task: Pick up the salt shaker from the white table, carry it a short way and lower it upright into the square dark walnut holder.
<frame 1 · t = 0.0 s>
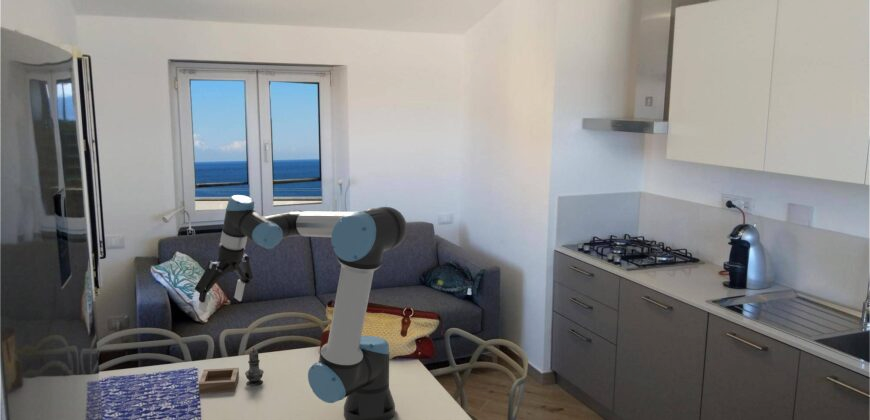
hand: (220, 304, 206), 28 cm above the table, tool tilted 20°, fingers open, 13 cm apart
walnut holder: (219, 385, 213), on the table
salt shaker: (254, 383, 215), on the table
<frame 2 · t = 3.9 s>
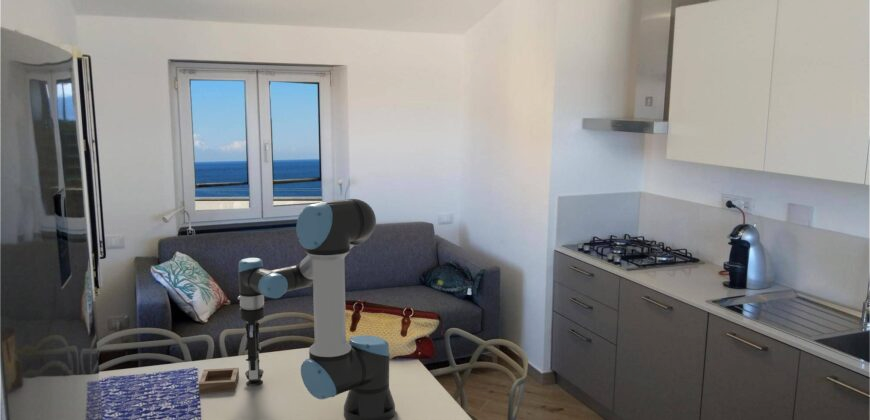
hand: (254, 374, 215), 3 cm above the table, tool pointing down, fingers closed on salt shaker, 6 cm apart
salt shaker: (254, 383, 215), on the table, touching gripper
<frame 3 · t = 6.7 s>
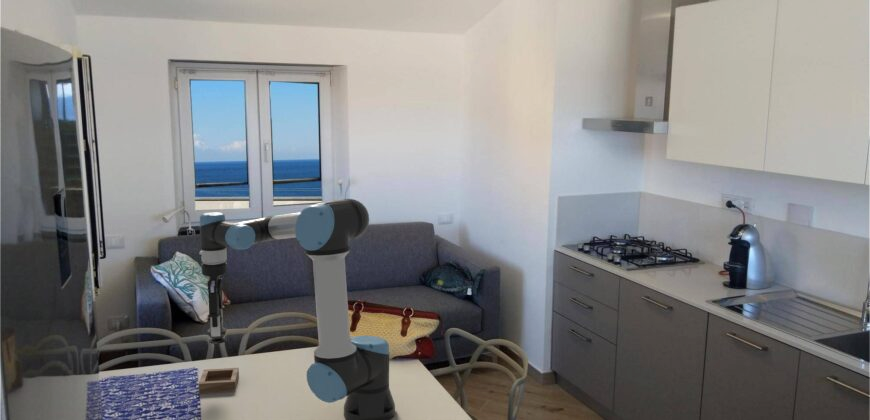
hand: (217, 332, 210), 18 cm above the table, tool pointing down, fingers closed on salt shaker, 6 cm apart
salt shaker: (217, 341, 211), point 15 cm above the table, touching gripper
when the fingers open (5 cm above the table, at t = 9.6 s): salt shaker drops 1 cm, resting on walnut holder.
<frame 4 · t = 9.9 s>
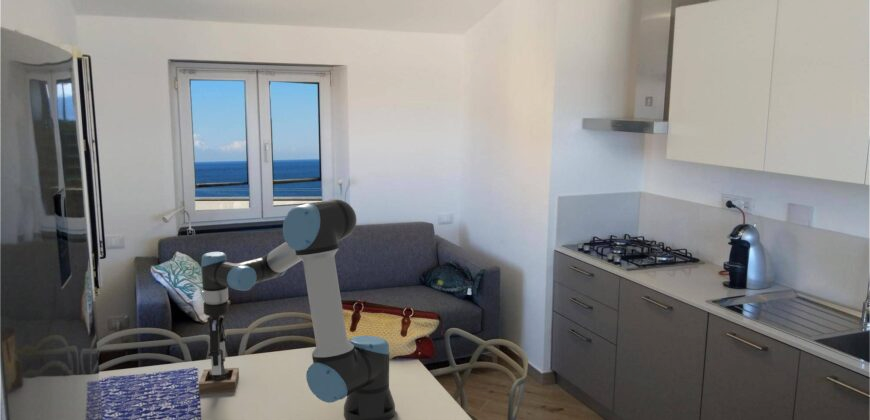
hand: (218, 367, 212), 6 cm above the table, tool pointing down, fingers open, 10 cm apart
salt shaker: (219, 383, 213), point 1 cm above the table, touching walnut holder
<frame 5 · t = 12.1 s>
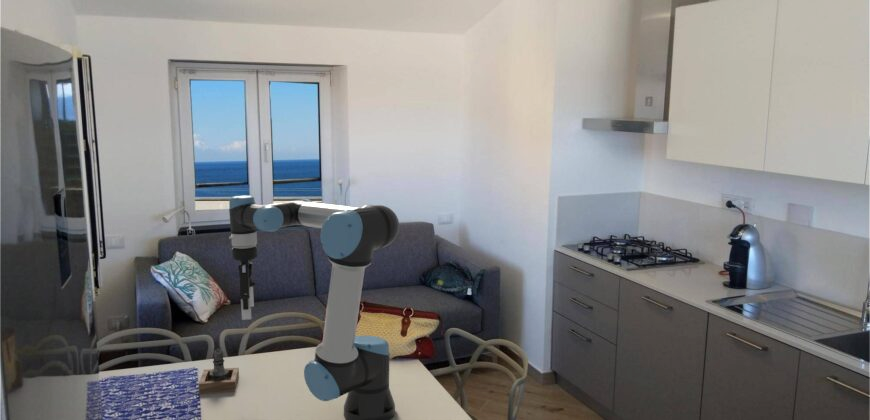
hand: (248, 312, 206), 26 cm above the table, tool pointing down, fingers open, 13 cm apart
nothing on the table moved.
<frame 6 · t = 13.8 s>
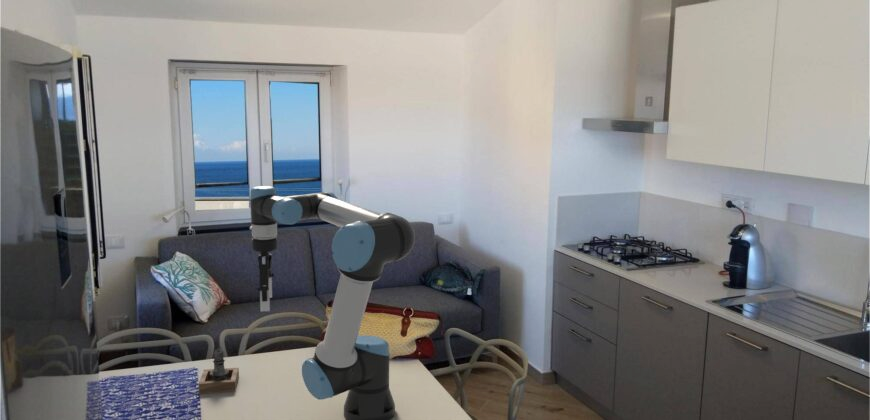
hand: (266, 304, 205), 29 cm above the table, tool pointing down, fingers open, 13 cm apart
nothing on the table moved.
at the end: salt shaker 0.1 cm off-centre on the walnut holder, point 0.6 cm above the walnut holder's base; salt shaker tilted 1°; the gripper is holding nothing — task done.
